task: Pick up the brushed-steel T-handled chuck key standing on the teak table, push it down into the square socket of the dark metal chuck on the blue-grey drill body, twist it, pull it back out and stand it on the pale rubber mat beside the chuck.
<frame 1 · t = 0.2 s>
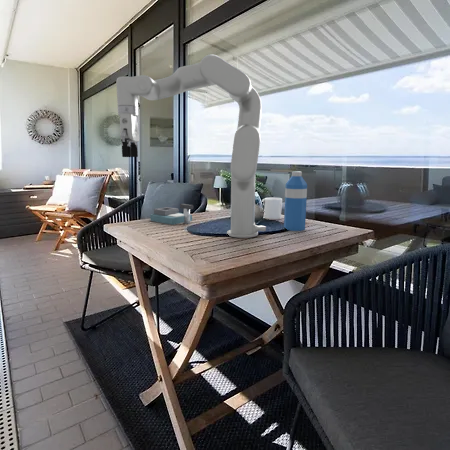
hand: (130, 157, 134), 31 cm above the table, fingers open, 9 cm apart
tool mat: (177, 221, 165), resting on drill base
water bottle: (294, 229, 150), on the table
drill base: (172, 220, 167), on the table
mug: (270, 218, 175), on the table
chuck key: (187, 223, 161), on the table
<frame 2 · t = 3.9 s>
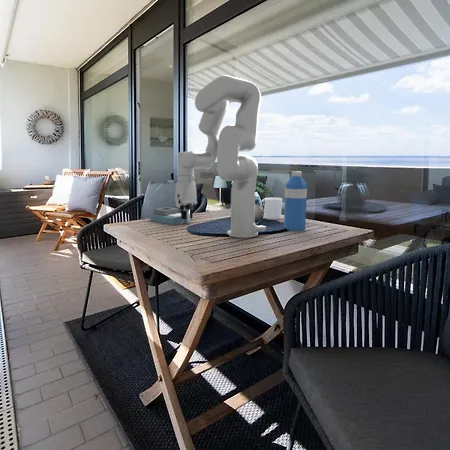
hand: (186, 218, 160), 3 cm above the table, fingers closed on chuck key, 3 cm apart
chuck key: (187, 223, 161), on the table, touching gripper
everything else where it was.
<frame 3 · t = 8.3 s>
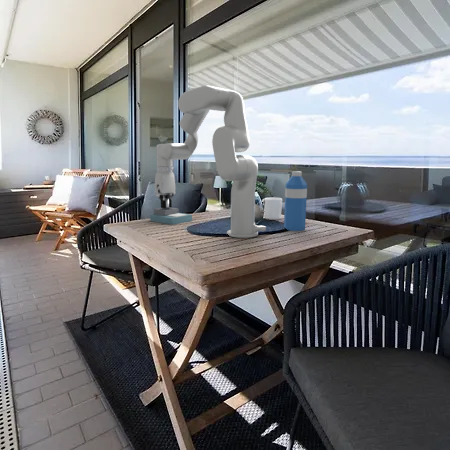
hand: (166, 207, 168), 6 cm above the table, fingers closed on chuck key, 3 cm apart
chuck key: (166, 212, 169), point 4 cm above the table, touching gripper
everything else where it was.
when the fingers open (7 cm above the table, at t = 12.8 s): chuck key stays where it is, resting on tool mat.
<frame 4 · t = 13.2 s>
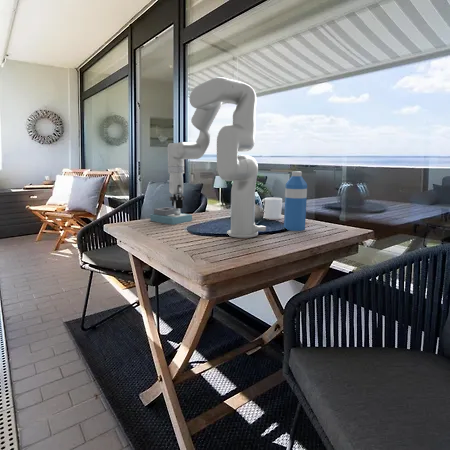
hand: (177, 206, 163), 7 cm above the table, fingers open, 7 cm apart
chuck key: (177, 214, 164), point 3 cm above the table, touching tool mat
everything else where it was.
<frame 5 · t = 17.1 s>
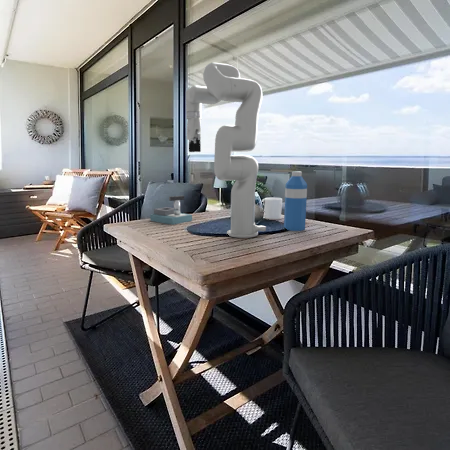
hand: (194, 151, 170), 33 cm above the table, fingers open, 9 cm apart
nothing on the table moved.
at the end: chuck key inside the target area on the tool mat (0.0 cm from its centre), point 3.4 cm above the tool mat's base; chuck key tilted 2°; the gripper is holding nothing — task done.
